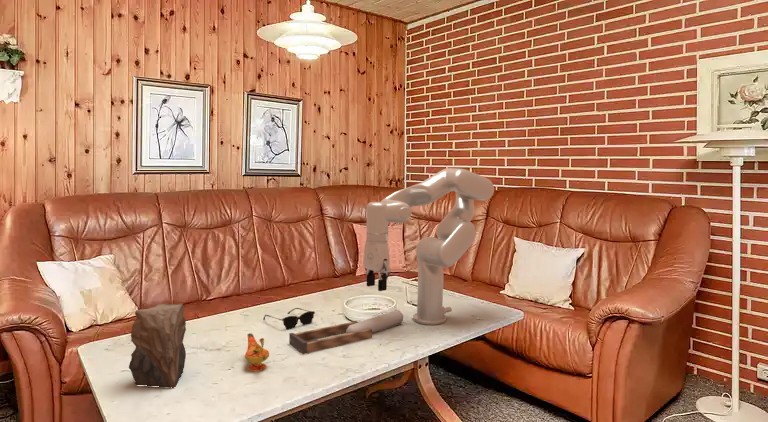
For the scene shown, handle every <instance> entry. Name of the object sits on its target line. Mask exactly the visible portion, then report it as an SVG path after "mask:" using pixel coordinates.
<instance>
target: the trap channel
mask: <svg viewBox="0 0 768 422" xmlns="http://www.w3.org/2000/svg"><path fill="white" fill-rule="evenodd" d="M358 322H359V321H356V320H354V321H349V322H345V323H340V324H335V325H330V326H326V327H321V328H316V329H312V330H306V331H302V332H297V333H294V332H291V333H289V341H288V343H289V345H291V346H292V347H293V348H295V349H296V350H297V351H299V352H300V353H302V355H306V354H309V353H314V352H319V351H323V350H326V349H327V350H328V349H331V348H337V347H340V346H344V345H349V344H353V343H357V342H362V341H366V340H370V339H373V333H372V329H366V330H361V331H357V332H352V333H348V334H346V330H347V328H348V327H349V326H350V325H352V324H355V323H358Z"/></svg>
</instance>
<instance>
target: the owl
mask: <svg viewBox="0 0 768 422" xmlns="http://www.w3.org/2000/svg"><path fill="white" fill-rule="evenodd" d="M184 311H185V306H184V303H183V302H180V303H159V304H157V305H155V306H151V307H149V308H140V309H136V310H135V311H134V315H135V316H136V319H135V320H134V322H133V324H132V326H131V331H130V338H131V339H130V341H131V342H132V344H133V345H134V346H135V348H134V350H133V351H132V353H131V360H130V362H129V364H128V368H129V370H130V373H131V375H132V377H133V380H134V382H135V383H134V385H135V384H136V385H147V386H159V387H172V388H171V389H175V388H174V387H176V388H177V385H178V383H179V382H178V381H179V380H180V379H181V378H180V377H182V375H183V374H184V369H185V365H186V364H185V363H186V357H187V356H186V355H187V353H186V349H185V348H186V347H185V345H184V343H183V342H184V338H185V334H186V331H187V328H186V325H187V322H186V320H187V319H186V317H185V316H184V313H185V312H184ZM182 373H183V374H182ZM181 374H182V375H181ZM179 378H180V379H179ZM159 387H158V388H159Z"/></svg>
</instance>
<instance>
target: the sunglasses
mask: <svg viewBox="0 0 768 422" xmlns="http://www.w3.org/2000/svg"><path fill="white" fill-rule="evenodd" d="M295 310H301V311H305V312H303V313H302V314H300V315H299V316H296V315H289V316H286V317H283V318H280V317H279V318H278V317H275V316H272V315H270V314H265V315H264V316H263V320H266V317H269V318H272V319H275V320H279V321H282V323H283V326H284V328H285V330H292V329H295V328H296V326H297V325H298V322H299V321H300V324H302V326H307V325H310V324H312V322H313V319H314V316H315V314H316V312H315V311H312V310H307V309H304V308H300V307H295V308H292V309H291V310H290V311H288V312H287V315H288V314H291V312H292V311H295Z"/></svg>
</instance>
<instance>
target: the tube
mask: <svg viewBox="0 0 768 422" xmlns="http://www.w3.org/2000/svg"><path fill="white" fill-rule="evenodd" d="M357 322H358V323H355V324H352V325H350V326H349V327H348V328H347V330H346V333H345V334H348V333H352V332H357V331H361V330H366V329H372V334H375V333H377V332H380V331H383V330H386V329H388V328H392V327H395V326H397V325H402V323H403V322H404V314H403V313H402V311H401V310H399V309H394V310H392V311H389V312H386V313H383V314H380V315H377V316H374V317H371V318H367V319H364V320H362V321H357Z"/></svg>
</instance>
